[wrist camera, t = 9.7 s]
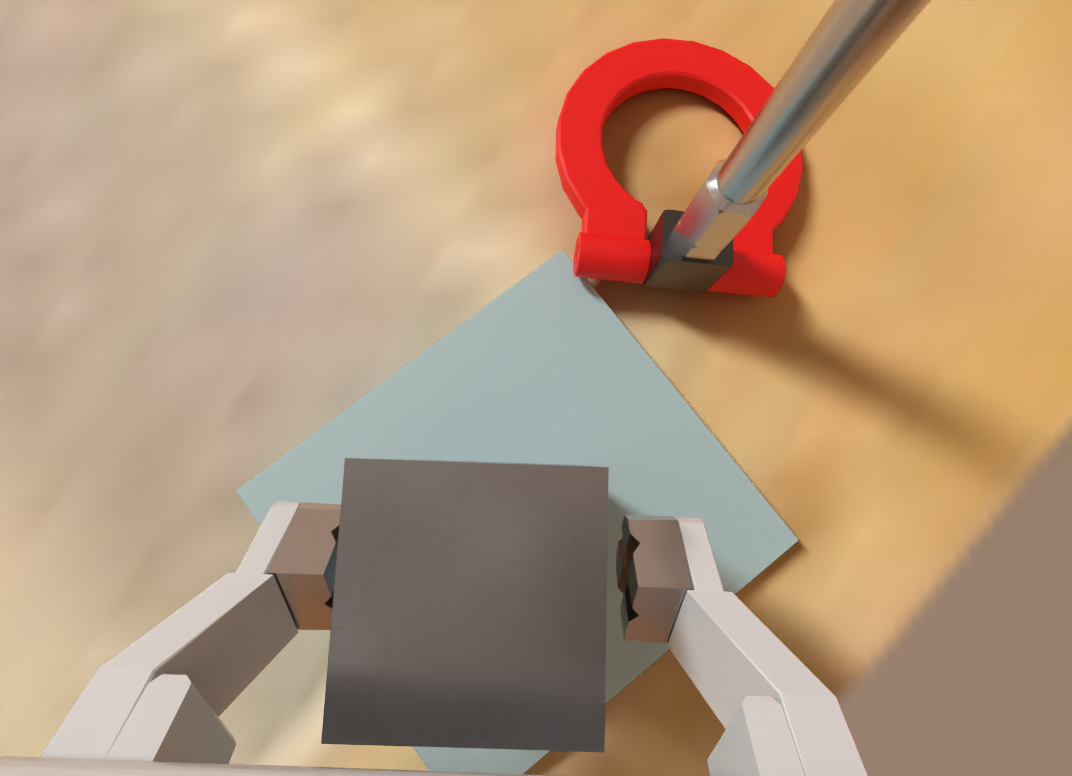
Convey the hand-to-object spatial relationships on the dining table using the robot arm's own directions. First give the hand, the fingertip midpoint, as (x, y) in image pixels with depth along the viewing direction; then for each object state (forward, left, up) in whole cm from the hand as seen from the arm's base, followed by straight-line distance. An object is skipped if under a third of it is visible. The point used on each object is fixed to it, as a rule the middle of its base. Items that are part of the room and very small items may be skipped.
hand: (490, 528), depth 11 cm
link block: (-1, 0, -6) cm, 6 cm away
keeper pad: (0, 0, -7) cm, 7 cm away
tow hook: (+11, +6, -7) cm, 14 cm away
